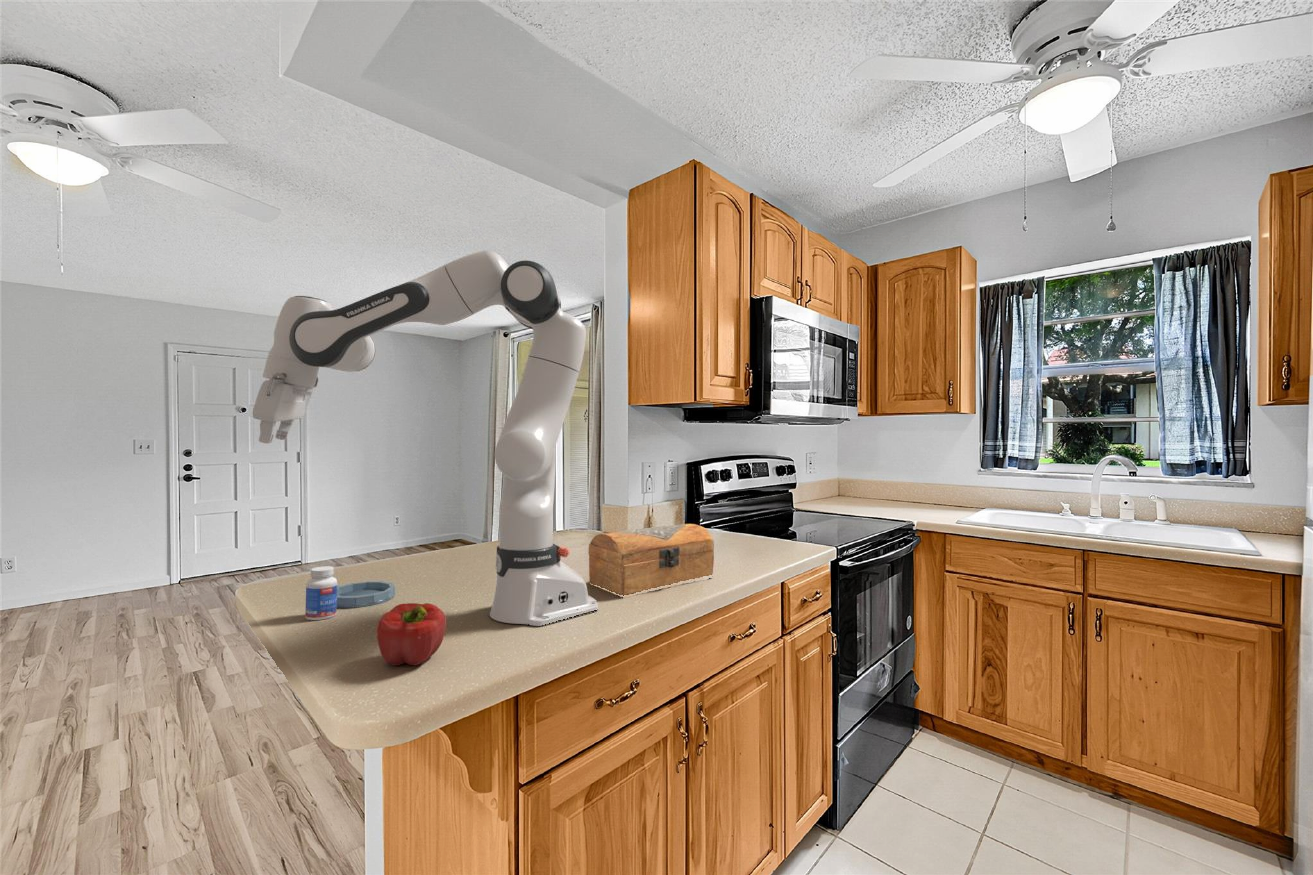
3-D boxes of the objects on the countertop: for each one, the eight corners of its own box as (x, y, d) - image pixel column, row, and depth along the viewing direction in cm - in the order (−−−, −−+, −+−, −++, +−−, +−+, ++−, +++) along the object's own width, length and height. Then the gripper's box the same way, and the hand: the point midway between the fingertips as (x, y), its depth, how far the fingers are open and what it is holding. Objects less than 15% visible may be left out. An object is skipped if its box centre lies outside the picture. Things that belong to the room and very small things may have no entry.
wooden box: (623, 600, 124) (624, 540, 124) (586, 584, 137) (587, 529, 137) (718, 580, 142) (719, 527, 142) (677, 567, 155) (678, 519, 155)
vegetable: (456, 664, 88) (457, 602, 88) (388, 682, 82) (389, 616, 82) (432, 644, 97) (433, 588, 97) (369, 659, 90) (369, 599, 90)
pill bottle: (321, 622, 107) (322, 572, 107) (298, 619, 108) (299, 570, 108) (343, 613, 112) (343, 566, 112) (320, 611, 113) (321, 564, 113)
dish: (390, 587, 131) (390, 578, 131) (397, 601, 120) (398, 591, 120) (327, 595, 124) (327, 586, 124) (329, 611, 113) (329, 601, 113)
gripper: (292, 377, 101) (273, 448, 101) (320, 380, 120) (304, 440, 120) (253, 367, 99) (233, 441, 99) (288, 372, 118) (272, 434, 118)
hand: (273, 440), depth 110 cm, fingers open, 8 cm apart
